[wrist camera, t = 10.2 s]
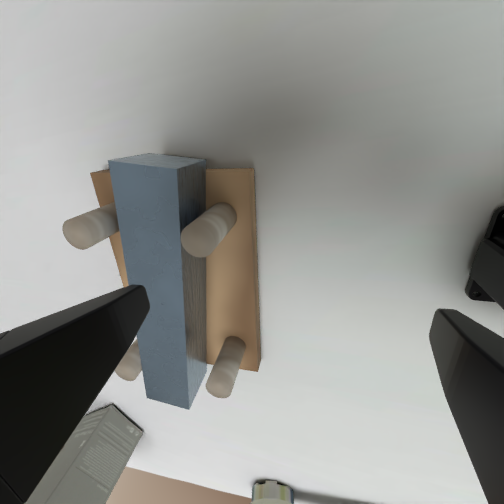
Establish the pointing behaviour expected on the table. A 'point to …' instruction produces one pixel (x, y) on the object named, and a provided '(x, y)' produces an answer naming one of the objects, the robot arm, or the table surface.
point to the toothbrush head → (272, 494)
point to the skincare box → (89, 460)
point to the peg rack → (217, 269)
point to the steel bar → (165, 268)
